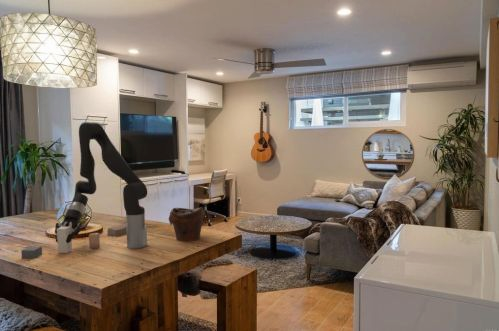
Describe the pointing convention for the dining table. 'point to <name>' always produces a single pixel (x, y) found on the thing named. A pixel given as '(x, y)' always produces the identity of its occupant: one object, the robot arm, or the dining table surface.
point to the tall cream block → (63, 240)
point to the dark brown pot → (187, 223)
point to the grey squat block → (31, 252)
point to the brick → (117, 230)
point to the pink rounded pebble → (94, 240)
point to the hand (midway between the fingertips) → (62, 242)
